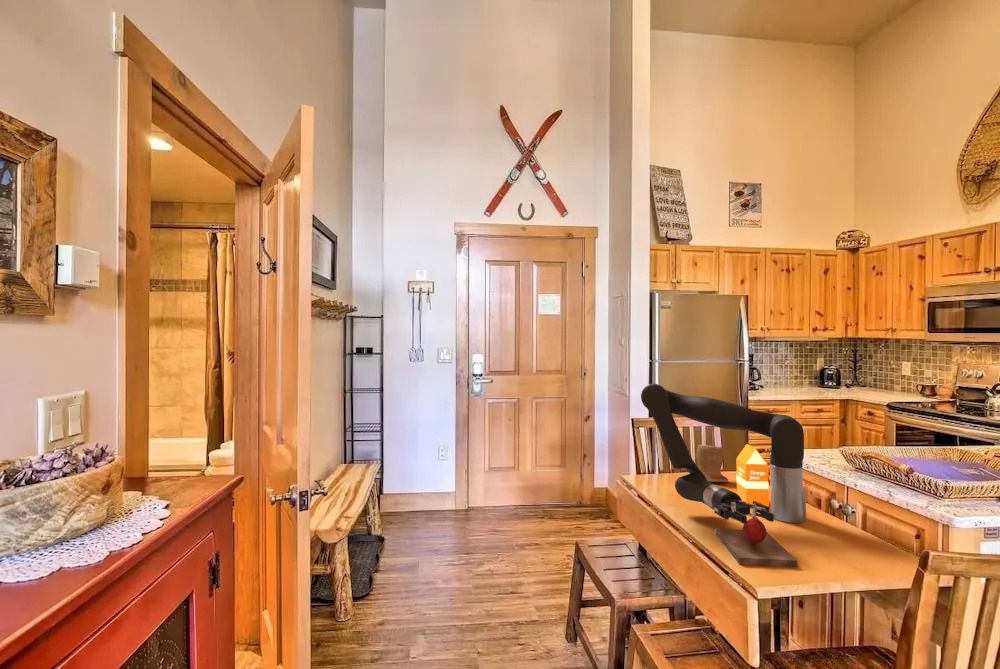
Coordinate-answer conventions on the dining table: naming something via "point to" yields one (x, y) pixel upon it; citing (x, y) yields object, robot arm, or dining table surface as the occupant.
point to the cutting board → (755, 549)
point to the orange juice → (752, 476)
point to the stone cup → (711, 462)
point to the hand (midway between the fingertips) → (759, 519)
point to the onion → (754, 530)
